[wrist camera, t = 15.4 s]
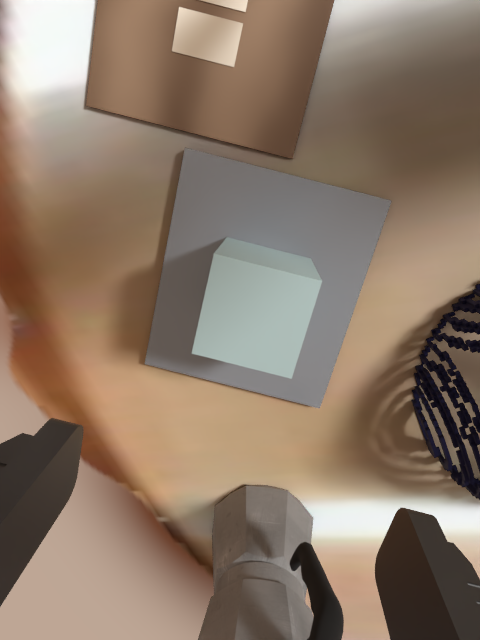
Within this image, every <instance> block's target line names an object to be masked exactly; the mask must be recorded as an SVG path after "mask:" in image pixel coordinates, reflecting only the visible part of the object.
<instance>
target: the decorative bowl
mask: <svg viewBox="0 0 480 640" xmlns="http://www.w3.org/2000/svg"><path fill="white" fill-rule="evenodd" d="M474 294H476V295H477V296H479V297H480V284H477V285H476V289H474V290H473V294H470V295H468V296H465V297H462V298H459V302H458V303H455V304H453V305H452V307H453V310H454V311H453V312H451V313H448V314H445V315H443V318H444V319H441V320H440V321H441V323H440V324H437V325H438V328H436V329H433V330H431V331H432V335H433V337H430V338H427V339H426V341H427V344H428V345H427V346H424V347H425V350H422V353H423V354H421V355H419V356H420V359H421V362H422V364H421V365H418V366H415V367H416V370H417V373H414V376H415V379H416V382H417V386H414V387H415V390H412V392H413V395H414V398H415V399H414V400H412V403H413V406H414V409H415V412H416V415H417V418H418V420H419V423H420V426H421V429H422V432H423V435H424V438H425V441H426V444H427V446H428V449H429V451H430V453H431V454H432V455H433V457H434V458H436V457H439V460H440V462H441V464H442V466H443V467H444V469H445V470H447V471H450V472H451V473H452V474H450V475H451V477H452V479H453V480H454V481H456V482H457V484H458V485H461V486H462V487H466V488H467V490H469V492H471V494H472V495H473V496H475V497H476V498H479V500H480V481H479V479H478V478H477V479H475V478H474V473H473V470H472V467H471V464H470V461H469V458H468V454H467V451H466V448H465V445H464V443H463V442H462V439H461V436H462V438H463V439H468V440H469V443H470V446H471V447H472V450H473V453H474V456H475V459H476V462H477V466H478V469H479V472H480V454H479V451H478V447H477V445H479V444H480V439H479V436H478V433H477V432H476V430H475V428H474V426H471V427H469V426H468V424H469V423H472V421H471V417H470V415H469V414H468V411H467V409H466V408H465V405H464V404H463V403H460V404H458V401H457V399H456V398H459V397H460V396H461V397H462V399H463V401H464V403H467V402H470V403H471V405H472V409H473V411H474V412H475V414H476V417H473V418H472V420H473V423H474V425H475V427H476V429H477V431H478V432H479V433H480V412H479V409H478V405H477V404H476V403H475V400H474V398H473V397H472V394H471V393H470V392H469V388H468V387H467V386H466V383H465V382H464V380H463V377H462V376H461V374H460V372H459V371H455V372H454V371H453V370H455V369H457V368H456V365H455V364H454V363H453V362H452V359H451V358H450V356H449V354H448V353H447V352H446V351H444V352H441V351H440V350H439V349H438V348H437V345H436V344H433V343H432V342H431V341H433V340H434V338H435V339H436V340H437V341H438V342H441V341H443V340H442V339H444V340H445V341H446V342H447V343H448V346H449V347H450V348H451V347H455V348H456V349H460V348H462V349H463V350H464V351H466V350H469V348H468V347H470V351H471V352H472V353H473V352H476V351H477V352H478V353H480V340H479V341H476V340H473V341H470V340H467V341H465V343H466V344H465V343H464V340H463V339H462V338H461V337H458V338H455V337H454V336H450V337H449V336H447V335H446V334H445V333H443V334H440V335H438V333H441V330H440V329H442V328H444V327H443V326H446V322H449V323H450V324H451V325H452V328H453V329H454V330H455V331H457V332H459V331H462V332H464V333H467V332H469V333H473V332H475V333H477V334H478V335H479V334H480V322H479V323H475V322H474V321H471V322H468V321H467V320H465V319H461V320H459V319H458V318H457V317H452V318H451V316H454V315H455V311H458V310H462V311H464V312H468V311H470V312H471V313H475V312H477V313H479V314H480V300H478V301H473V300H472V299H471V298H474V297H475V295H474ZM430 348H431V349H432V350H433V351H434V352H435V353H436V354H437V355H438V356H439V358H440V361H441V362H442V361H445V360H446V362H447V363H448V364H449V367H450V368H451V369H448V370H447V371H448V374H449V375H450V376H451V377H452V376H456V379H454V380H452V381H453V384H454V385H455V386H456V387H457V390H458V391H459V393H460V396H459V394H458V392H457V390H456V388H455V387H452V388H450V387H449V385H448V383H449V382H452V381H451V378H450V377H449V376H448V374H447V371H446V370H445V368H444V366H443V365H442V364H438V365H437V364H436V363H435V362H434V361H433V360H432V361H429V360H428V359H427V358H426V357H427V356H428V352H430ZM423 364H426V365H427V368H428V370H429V371H430V372H432V371H435V372H436V374H437V376H438V378H439V379H440V380H441V383H442V385H443V386H441V387H440V390H441V391H442V392H444V391H446V392H447V393H448V396H449V397H450V399H451V402H452V403H453V406H454V407H455V409H456V408H459V407H460V410H461V411H458V412H457V415H458V416H459V418H460V421H461V424H462V425H463V426H462V427H459V429H460V432H461V435H460V434H459V432H458V429H457V426H456V423H455V422H454V419H453V417H452V416H451V413H450V410H449V408H448V406H447V404H446V402H445V400H444V398H443V396H442V393H441V392H440V391H439V389H438V387H437V385H436V384H435V382H434V380H433V378H432V377H431V375H430V373H429V372H428V370H427V369H426V368H424V367H423ZM420 379H421V380H422V381H423V382H422V383H421V381H420ZM419 385H421V387H422V389H423V391H424V393H425V395H426V396H427V398H428V400H429V401H431V400H433V401H434V402H432V403H431V406H432V408H435V407H437V408H438V410H439V413H440V414H441V417H442V418H443V421H444V424H445V426H446V428H447V430H448V434H449V435H450V437H451V440H452V443H453V446H454V447H455V448H456V447H459V449H460V450H458V451H456V453H457V456H458V459H459V462H460V464H459V465H460V468H461V472H458V470H457V467H456V465H453V466H452V464H453V463H452V460H451V457H450V454H449V451H448V448H447V445H446V442H445V439H444V436H443V435H442V432H441V429H440V427H439V425H438V422H437V420H436V418H435V415H434V414H433V411H432V409H431V407H430V405H429V403H428V401H427V399H426V398H425V395H424V393H423V392H422V391H421V389H420V388H419ZM419 398H421V400H422V403H423V404H424V406H425V408H426V410H427V412H428V414H429V417H430V419H431V421H432V424H433V425H434V428H435V431H436V433H437V434H438V437H439V440H440V443H441V446H442V449H443V452H444V455H445V459H444V457H443V456H442V455H441V452H440V449H439V447H436V446H435V443H434V440H433V437H432V434H431V431H430V429H429V427H428V424H427V421H426V420H425V417H424V415H423V414H422V412H421V410H422V407H421V404H420V401H419ZM468 427H469V429H470V432H471V434H469V435H467V434H466V431H465V428H468Z"/></svg>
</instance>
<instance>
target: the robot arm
mask: <svg viewBox="0 0 480 640" xmlns="http://www.w3.org/2000/svg"><path fill="white" fill-rule="evenodd" d="M82 439H83V426H82V425H78V424H74V423H70V422H66V421H62V420H58V419H54V418H51V419H50V420H49V421H47V423H46V424H45V425H44V426H43V427H42V428H41V429H40V430H39V431H38V432H37V433H36V434H35V435H34V436H32V435H28V434H24V433H22V434H20V435H18V436H16V437H14V438H12V439H10V440H7V441H6V442H3V443H1V444H0V606H1V605H2V603H3V601H4V600H5V598H6V597H7V595H8V594H9V592H10V591H11V589H12V587H13V586H14V584H15V583H16V581H17V580H18V578H19V577H20V575H21V573H22V572H23V570H24V569H25V567H26V566H27V564H28V563H29V561H30V559H31V558H32V556H33V555H34V553H35V552H36V550H37V549H38V547H39V545H40V544H41V542H42V541H43V539H44V538H45V536H46V534H47V533H48V531H49V530H50V528H51V527H52V525H53V524H54V522H55V520H56V519H57V517H58V515H59V514H60V513H61V511H62V510H63V508H64V506H65V505H66V503H67V502H68V500H69V498H70V496H71V494H72V491H73V489H74V486H75V483H76V479H77V473H78V467H79V460H80V453H81V446H82ZM375 578H376V584H377V588H378V592H379V596H380V600H381V603H382V607H383V611H384V615H385V619H386V623H387V627H388V631H389V635H390V639H391V640H480V579H479V577H478V575H477V573H476V572H475V570H474V568H473V566H472V564H471V563H470V562H469V560H468V559H467V558H466V557H465V556H464V555H463V554H462V552H461V551H460V550H459V549H458V548H457V547H456V546H455V544H454V543H450V542H447V540H446V538H445V536H444V534H443V531H442V529H441V527H440V525H439V523H438V521H437V519H436V518H435V517H434V516H433V515H429V514H425V513H421V512H418V511H414V510H410V509H406V508H400V509H399V510H398V511H397V512H396V514H395V516H394V519H393V521H392V523H391V525H390V527H389V530H388V532H387V534H386V536H385V538H384V541H383V543H382V545H381V547H380V549H379V552H378V554H377V558H376V563H375Z"/></svg>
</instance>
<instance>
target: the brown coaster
mask: <svg viewBox="0 0 480 640" xmlns="http://www.w3.org/2000/svg"><path fill="white" fill-rule="evenodd" d="M333 3H334V0H98V3H97V12H96V21H95V30H94V39H93V48H92V57H91V65H90V74H89V83H88V92H87V101H86V106H89V107H93V108H96V109H100V110H104V111H108V112H112V113H116V114H120V115H124V116H127V117H131V118H135V119H139V120H143V121H147V122H151V123H155V124H159V125H162V126H166V127H170V128H174V129H178V130H182V131H186V132H190V133H194V134H197V135H201V136H205V137H209V138H213V139H217V140H221V141H225V142H228V143H232V144H236V145H240V146H244V147H248V148H252V149H256V150H260V151H263V152H267V153H271V154H275V155H279V156H283V157H287V158H291V159H292V158H293V154H294V151H295V147H296V143H297V139H298V136H299V132H300V128H301V124H302V120H303V117H304V113H305V109H306V105H307V102H308V98H309V94H310V90H311V86H312V83H313V79H314V75H315V71H316V68H317V64H318V60H319V56H320V53H321V49H322V45H323V41H324V37H325V34H326V30H327V26H328V22H329V19H330V15H331V11H332V7H333Z"/></svg>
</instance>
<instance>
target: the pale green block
mask: <svg viewBox="0 0 480 640" xmlns="http://www.w3.org/2000/svg"><path fill="white" fill-rule="evenodd" d="M321 283H322V280H321V278H320V276H319V274H318V272H317V270H316V268H315V266H314V264H313V262H312V260H311V258H307V257H303V256H299V255H295V254H291V253H287V252H283V251H279V250H275V249H271V248H267V247H264V246H260V245H256V244H252V243H248V242H244V241H240V240H236V239H232V238H228V237H227V238H226V239H225V240H224V242H223V243H222V244H221V245H220V246H219V248H218V249H217V250H216V251H215V253H214V255H213V260H212V264H211V269H210V273H209V278H208V282H207V287H206V291H205V295H204V300H203V304H202V309H201V313H200V318H199V322H198V327H197V331H196V336H195V340H194V345H193V349H192V354H196V355H200V356H204V357H208V358H211V359H215V360H219V361H223V362H227V363H231V364H235V365H239V366H243V367H247V368H251V369H255V370H259V371H263V372H267V373H271V374H275V375H279V376H283V377H286V378H290V379H292V376H293V373H294V370H295V366H296V363H297V360H298V357H299V354H300V350H301V347H302V344H303V341H304V338H305V334H306V331H307V328H308V325H309V322H310V318H311V315H312V312H313V309H314V306H315V303H316V299H317V296H318V293H319V290H320V287H321Z"/></svg>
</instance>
